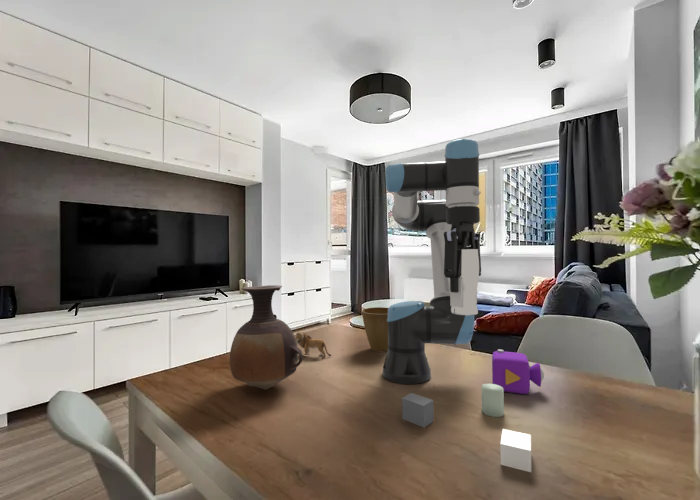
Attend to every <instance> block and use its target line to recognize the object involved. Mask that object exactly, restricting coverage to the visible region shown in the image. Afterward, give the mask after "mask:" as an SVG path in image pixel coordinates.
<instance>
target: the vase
mask: <svg viewBox="0 0 700 500" xmlns="http://www.w3.org/2000/svg"><path fill="white" fill-rule="evenodd" d="M282 287H283V286H282V285H278V284H275V285H271V284H269V285H255V286H253V285H252V286H245V287H244V286H243V287H241V288H240V289H241V290H243V291H244V292H247V293H249V295H250V296H251V299H252V305H253V310H252V315H251V318H250V320H248V321H246V322H245V323H244V324H242V326H241V327H239V328H238V330H237V331H236V333H235V335H234V337H233V340H232V341H231V342H232V343H231V347H230V351H229V366H230V371H231V375H232V377H233V378H234V379H235V380H237V381H239V382H242V383H245V384H247V386H248V387H256V388H259V389H262V390H264V391H267V390H269V389H270V388H272V387H274V386H275V385H276V384H278V383H280V382H282V381H283V380H285V379H287V378H289V377H290V376H292V375H293V374H294V373H295V372H296V371H297V368H298V367H299V366H300V365H301V364H302V362H303V359H304V355H303V351H302V350H301V348H299V347H298V343H297V342H296V335H295V334H294V333H293V331H292V329H291V328H290V326H289V325H288V324H287V323H286V322H284V320H282V319H278V316H277V315H276V314H274V312H273V307H272V302H273V296H274V293H275V292H276V291H280V290H281V289H282Z"/></svg>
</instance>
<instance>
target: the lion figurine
mask: <svg viewBox="0 0 700 500" xmlns="http://www.w3.org/2000/svg"><path fill="white" fill-rule="evenodd" d="M295 339H296V342H297V345H298V346H300V347H301V348H302V349H304V354H303V356H304V355H307V356H308V355H309V354H310V349H313V350H314V349H317V350H318V351H319V352H320V354H319V356H321V355H322V356H321V358H322V357H323V358H322V359H325V358H326V354H327V356H329V357H331V356H332V354H330V353H329V352H328V349H327V346H326V343H325V341H324V340H323V339H321V338H315V339H314V338H312V336H310V335H309V334H307V333H305V332H303V331H298V332H296V333H295ZM324 350H325V351H324ZM308 353H309V354H308Z"/></svg>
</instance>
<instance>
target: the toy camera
mask: <svg viewBox="0 0 700 500" xmlns="http://www.w3.org/2000/svg"><path fill="white" fill-rule="evenodd" d="M491 356H492V357H491V374H492V376H491V377H492V384H496V385H499V386H501V387H503V389H504V392H506V393H512V394H513V393H515V394H521V395H528V394H529V392H530V389H531V382H532V383H534V384H535V385H536V386H537V387H540V388H541V386H542V381H543V380H544V379H545V373H544V370H543V369H542V367H541V365H540V362H536V363H534V364H533V365H530V363H529V359H528V357H527V355H526V354H524V353H521V352H516V351H514V352H513V351H505V350H504V349H501V348H500V349H499V348H498V349H497V350H496V351H493V352H492V355H491Z"/></svg>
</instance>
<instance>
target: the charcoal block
mask: <svg viewBox="0 0 700 500" xmlns="http://www.w3.org/2000/svg"><path fill="white" fill-rule="evenodd" d="M434 418H435V417H434V400H433V399H430V398H427V397H426V396H422V395H419V394H416V393H412V392H411V393H408V394H407V395H405V396H404V397H402V398H401V419H402V420H404V421H407V422H409V423H412V424H414V425H416V426H419V427H420V428H427V427H428V426H429V425H431V424H432V423H434Z"/></svg>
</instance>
